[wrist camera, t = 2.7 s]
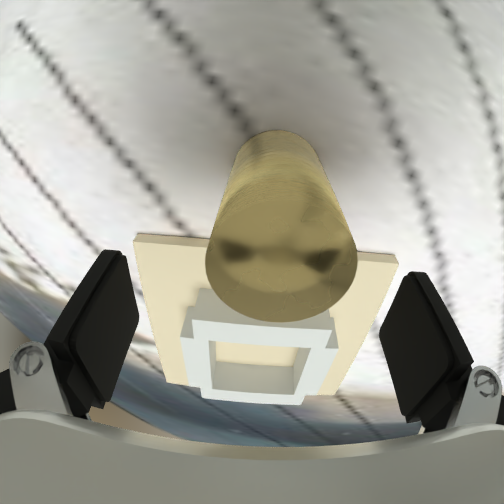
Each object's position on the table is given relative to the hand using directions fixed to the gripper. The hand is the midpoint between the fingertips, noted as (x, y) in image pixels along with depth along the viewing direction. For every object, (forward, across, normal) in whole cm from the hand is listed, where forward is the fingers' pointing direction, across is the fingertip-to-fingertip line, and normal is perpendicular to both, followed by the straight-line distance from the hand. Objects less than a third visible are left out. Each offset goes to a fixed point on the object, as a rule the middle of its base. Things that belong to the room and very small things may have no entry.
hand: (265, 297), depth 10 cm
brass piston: (+10, -1, -1) cm, 10 cm away
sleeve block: (+10, -1, +13) cm, 16 cm away
